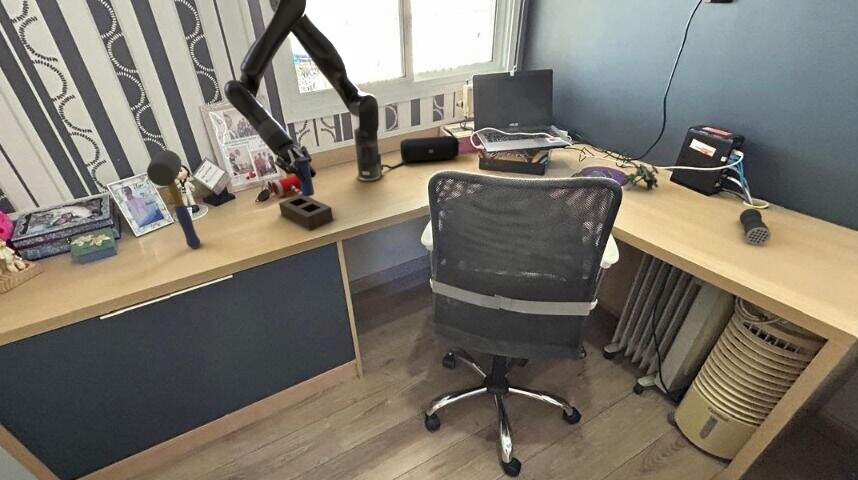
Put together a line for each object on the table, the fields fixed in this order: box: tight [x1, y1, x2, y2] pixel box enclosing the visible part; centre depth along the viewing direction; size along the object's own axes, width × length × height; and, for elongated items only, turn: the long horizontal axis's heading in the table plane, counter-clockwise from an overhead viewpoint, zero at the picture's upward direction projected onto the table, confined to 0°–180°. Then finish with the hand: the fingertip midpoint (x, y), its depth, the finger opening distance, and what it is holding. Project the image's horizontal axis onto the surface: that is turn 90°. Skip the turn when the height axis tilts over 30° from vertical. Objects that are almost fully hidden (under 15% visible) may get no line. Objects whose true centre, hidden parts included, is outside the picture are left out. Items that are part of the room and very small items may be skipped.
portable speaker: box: [399, 135, 460, 163], centre depth 188 cm, size 26×10×10 cm, turn 96°
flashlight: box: [739, 208, 772, 246], centre depth 127 cm, size 15×5×5 cm, turn 154°
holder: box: [278, 194, 334, 231], centre depth 147 cm, size 10×18×5 cm, turn 46°
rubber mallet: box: [146, 149, 201, 249], centre depth 126 cm, size 12×8×30 cm, turn 14°
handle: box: [296, 157, 315, 197], centre depth 137 cm, size 4×4×12 cm
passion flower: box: [619, 163, 659, 190], centre depth 155 cm, size 11×11×12 cm
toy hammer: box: [270, 174, 310, 198], centre depth 160 cm, size 23×12×6 cm, turn 43°
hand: (310, 178), depth 136 cm, fingers closed on handle, 4 cm apart
